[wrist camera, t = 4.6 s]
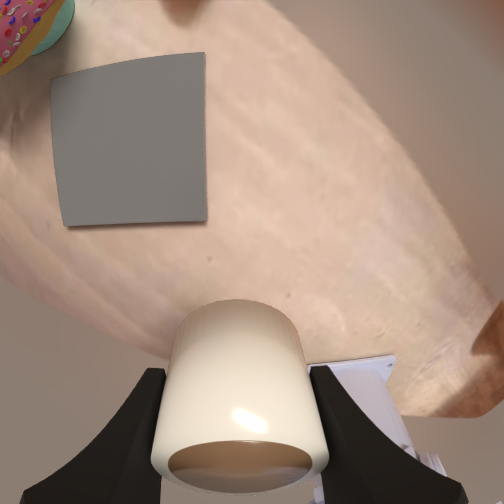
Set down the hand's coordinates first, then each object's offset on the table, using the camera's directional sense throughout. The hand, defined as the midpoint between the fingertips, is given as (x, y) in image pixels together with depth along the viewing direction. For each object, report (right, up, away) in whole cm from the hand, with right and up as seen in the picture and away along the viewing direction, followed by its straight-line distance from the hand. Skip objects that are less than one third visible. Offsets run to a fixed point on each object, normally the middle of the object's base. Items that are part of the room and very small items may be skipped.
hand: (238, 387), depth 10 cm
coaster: (-6, +11, +4) cm, 13 cm away
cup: (0, +1, +2) cm, 2 cm away
